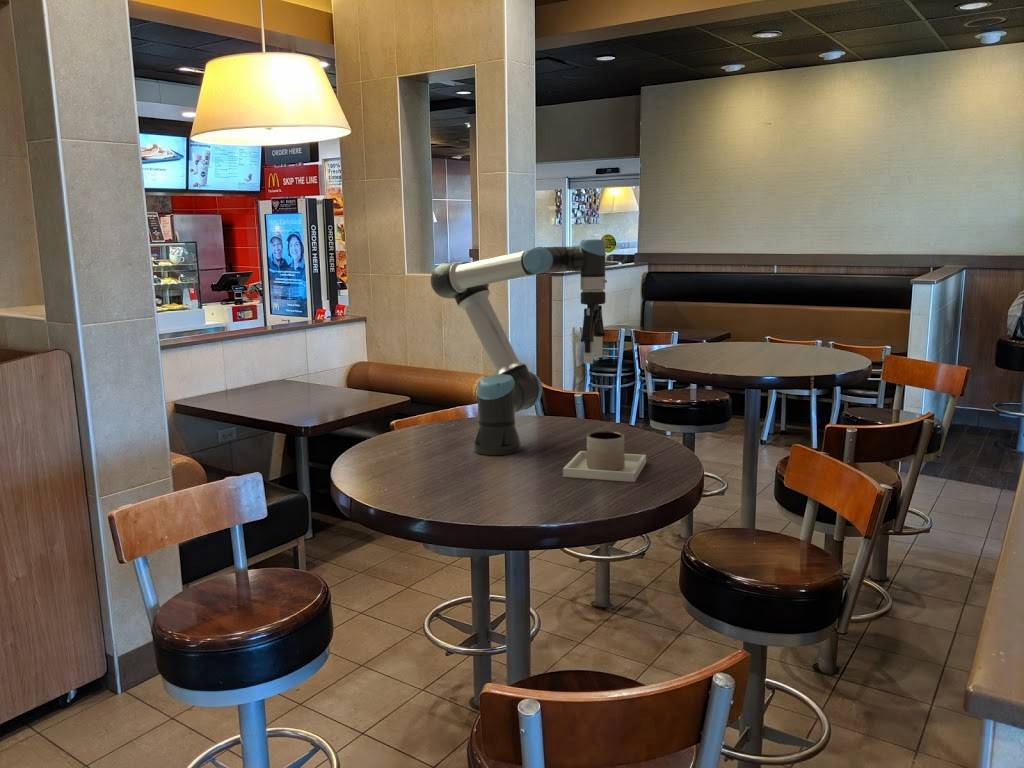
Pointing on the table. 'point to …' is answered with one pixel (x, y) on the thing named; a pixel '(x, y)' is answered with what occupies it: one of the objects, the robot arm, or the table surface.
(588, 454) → the planter
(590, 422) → the table surface
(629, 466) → the tray
